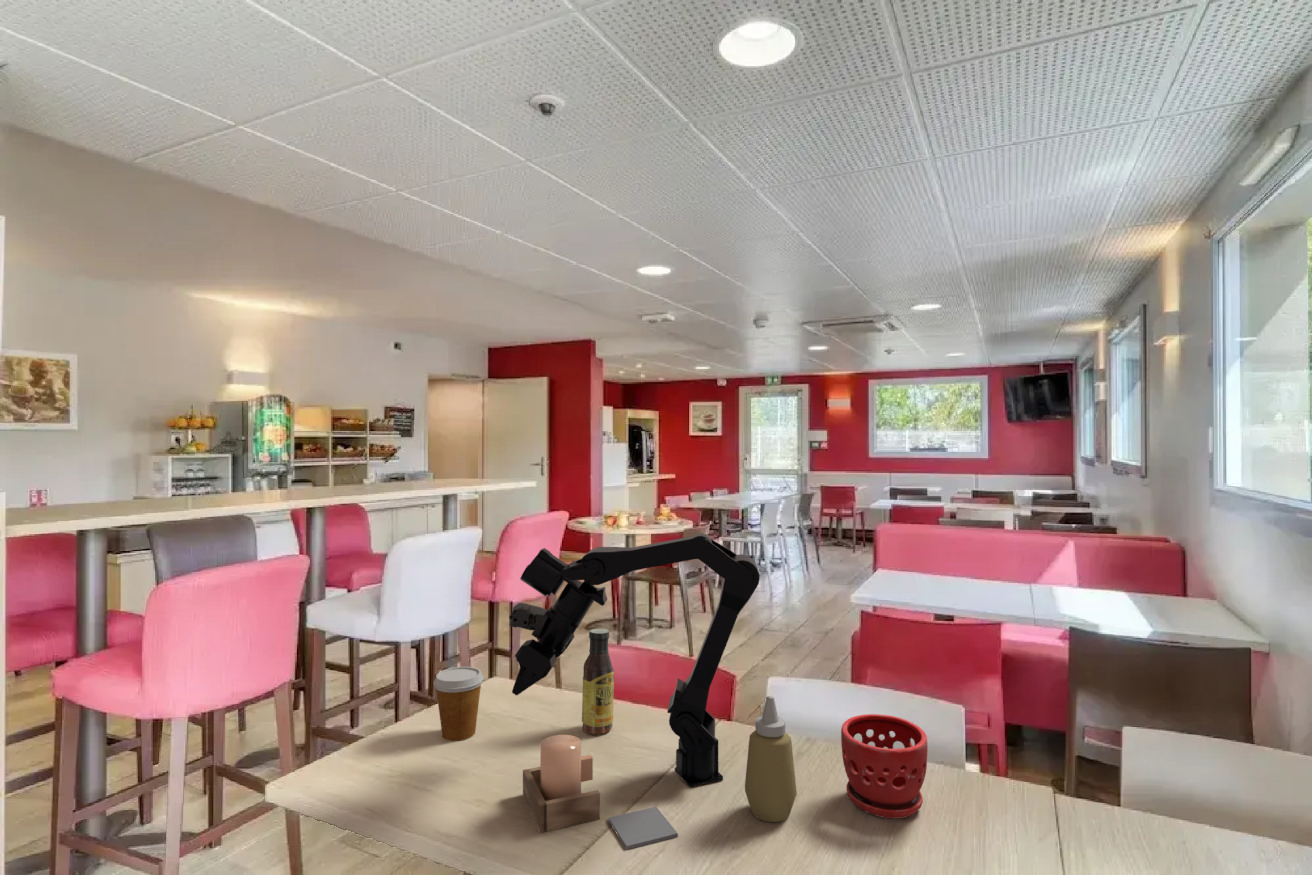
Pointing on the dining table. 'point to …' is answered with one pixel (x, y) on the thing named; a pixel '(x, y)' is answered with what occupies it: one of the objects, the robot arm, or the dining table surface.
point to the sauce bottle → (598, 685)
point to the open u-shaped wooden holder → (558, 805)
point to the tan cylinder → (563, 767)
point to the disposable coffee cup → (458, 701)
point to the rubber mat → (642, 827)
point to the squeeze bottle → (770, 767)
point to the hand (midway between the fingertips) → (522, 684)
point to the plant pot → (884, 765)
